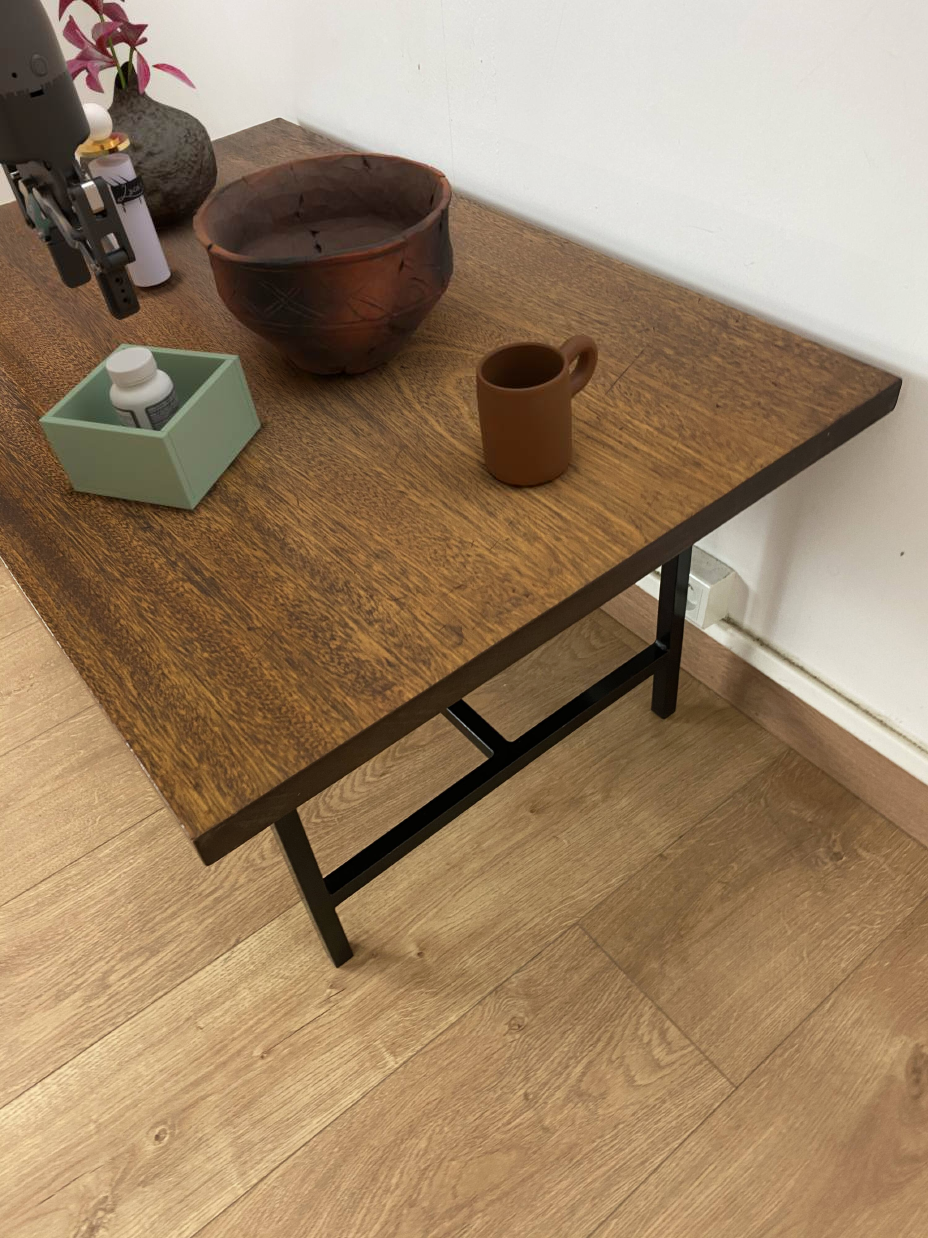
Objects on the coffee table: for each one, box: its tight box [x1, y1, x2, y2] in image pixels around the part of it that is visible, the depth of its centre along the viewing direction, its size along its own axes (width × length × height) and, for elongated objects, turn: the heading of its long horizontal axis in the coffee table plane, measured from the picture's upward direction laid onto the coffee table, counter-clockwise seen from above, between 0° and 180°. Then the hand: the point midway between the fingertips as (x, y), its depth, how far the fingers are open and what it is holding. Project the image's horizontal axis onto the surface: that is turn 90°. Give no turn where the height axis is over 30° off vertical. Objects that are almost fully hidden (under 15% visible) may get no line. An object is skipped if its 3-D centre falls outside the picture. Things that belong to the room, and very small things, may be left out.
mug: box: [475, 333, 599, 486], centre depth 75 cm, size 12×8×9 cm, turn 130°
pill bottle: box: [106, 347, 182, 431], centre depth 80 cm, size 5×5×10 cm
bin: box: [38, 343, 261, 511], centre depth 81 cm, size 13×13×8 cm
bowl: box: [192, 152, 454, 375], centre depth 90 cm, size 25×25×15 cm
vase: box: [58, 0, 218, 230], centre depth 113 cm, size 17×18×30 cm
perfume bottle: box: [75, 102, 172, 287], centre depth 103 cm, size 6×6×20 cm
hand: (102, 298), depth 73 cm, fingers open, 8 cm apart
